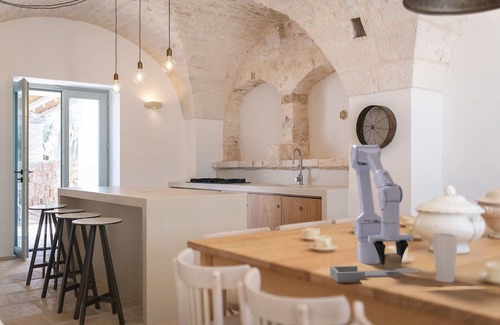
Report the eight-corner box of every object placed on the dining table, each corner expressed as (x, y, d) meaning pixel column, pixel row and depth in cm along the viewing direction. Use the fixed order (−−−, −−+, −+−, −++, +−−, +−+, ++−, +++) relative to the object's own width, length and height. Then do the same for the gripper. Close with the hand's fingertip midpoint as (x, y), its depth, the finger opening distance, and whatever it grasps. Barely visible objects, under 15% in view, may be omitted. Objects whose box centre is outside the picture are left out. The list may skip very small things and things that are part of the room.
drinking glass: (450, 280, 151) (450, 233, 151) (461, 285, 144) (460, 236, 144) (429, 280, 151) (429, 233, 151) (439, 286, 144) (438, 237, 144)
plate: (393, 270, 164) (393, 267, 164) (412, 270, 164) (412, 267, 164) (401, 275, 157) (401, 272, 157) (421, 275, 157) (421, 272, 157)
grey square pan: (330, 275, 158) (330, 266, 158) (394, 273, 160) (394, 264, 160) (337, 282, 149) (337, 273, 149) (405, 280, 151) (404, 270, 151)
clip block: (380, 265, 158) (380, 253, 158) (395, 264, 158) (395, 252, 158) (385, 268, 153) (385, 256, 153) (401, 268, 153) (401, 256, 153)
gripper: (372, 224, 151) (373, 267, 151) (416, 223, 152) (417, 265, 152) (365, 221, 158) (365, 262, 158) (407, 220, 159) (408, 261, 159)
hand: (390, 263), depth 155 cm, fingers closed on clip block, 5 cm apart
